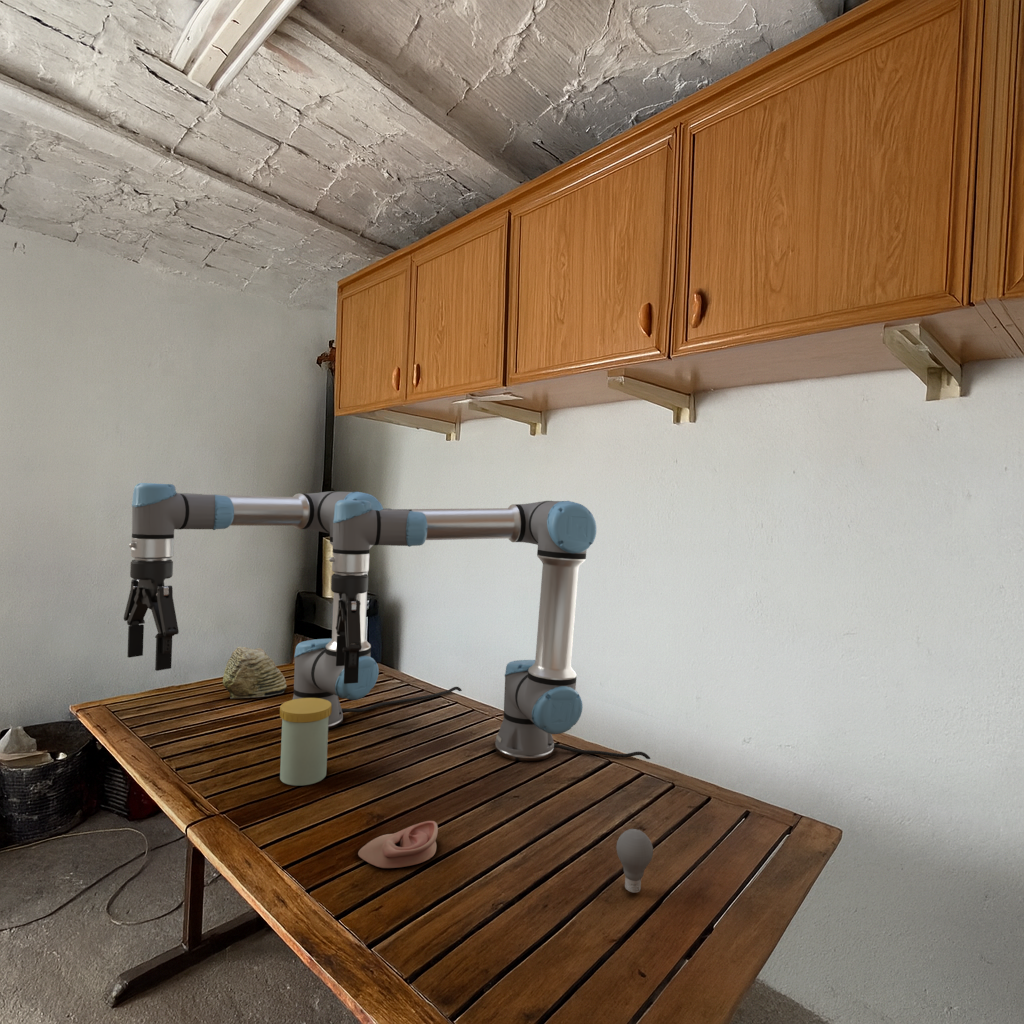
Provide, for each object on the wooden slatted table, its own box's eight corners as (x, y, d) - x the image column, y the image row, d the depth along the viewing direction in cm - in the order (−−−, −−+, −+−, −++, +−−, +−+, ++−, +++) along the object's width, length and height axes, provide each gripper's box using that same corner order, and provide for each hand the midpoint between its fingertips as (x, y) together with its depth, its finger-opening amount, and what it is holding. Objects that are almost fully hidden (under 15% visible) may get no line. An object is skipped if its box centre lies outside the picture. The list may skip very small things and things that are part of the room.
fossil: (218, 695, 195) (220, 647, 195) (278, 685, 208) (279, 640, 207) (228, 703, 189) (230, 653, 188) (289, 692, 201) (290, 645, 201)
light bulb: (610, 879, 108) (613, 822, 108) (644, 879, 109) (647, 822, 109) (619, 902, 102) (622, 840, 102) (655, 901, 103) (658, 840, 103)
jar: (307, 762, 150) (310, 697, 150) (335, 774, 145) (338, 706, 144) (270, 776, 142) (273, 707, 142) (298, 790, 136) (301, 718, 136)
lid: (310, 702, 151) (310, 694, 151) (341, 713, 144) (342, 704, 144) (269, 714, 142) (269, 705, 142) (300, 726, 135) (301, 717, 135)
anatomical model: (350, 840, 110) (378, 809, 121) (349, 863, 110) (377, 829, 121) (423, 852, 107) (444, 819, 118) (422, 875, 107) (443, 840, 118)
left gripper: (108, 554, 134) (104, 654, 134) (159, 565, 118) (155, 678, 119) (146, 552, 140) (143, 648, 140) (199, 563, 124) (195, 671, 124)
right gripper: (325, 566, 143) (322, 659, 144) (339, 581, 120) (334, 692, 120) (359, 566, 146) (355, 658, 146) (378, 581, 123) (374, 689, 123)
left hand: (148, 662), depth 129 cm, fingers open, 13 cm apart
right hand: (346, 673), depth 133 cm, fingers open, 13 cm apart
